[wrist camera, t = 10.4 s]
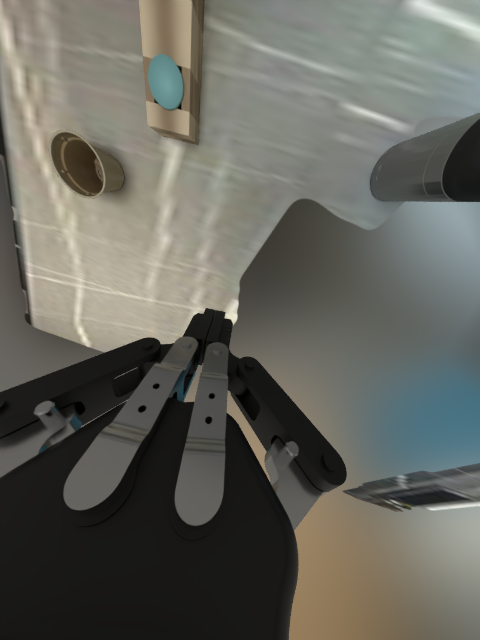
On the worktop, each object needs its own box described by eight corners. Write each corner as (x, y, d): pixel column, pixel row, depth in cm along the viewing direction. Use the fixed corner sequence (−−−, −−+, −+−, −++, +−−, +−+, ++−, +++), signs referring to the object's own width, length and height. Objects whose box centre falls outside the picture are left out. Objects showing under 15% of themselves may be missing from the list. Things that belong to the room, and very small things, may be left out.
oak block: (206, -55, 24) (194, -120, 19) (198, 144, 35) (188, 135, 31) (155, -71, 24) (129, -141, 19) (162, 136, 35) (147, 125, 30)
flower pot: (113, 207, 43) (84, 208, 36) (77, 161, 38) (37, 152, 31) (140, 183, 40) (115, 180, 33) (106, 131, 35) (68, 113, 28)
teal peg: (195, 84, 31) (182, 59, 26) (193, 126, 34) (182, 112, 28) (165, 76, 31) (146, 49, 25) (166, 119, 34) (149, 103, 28)
